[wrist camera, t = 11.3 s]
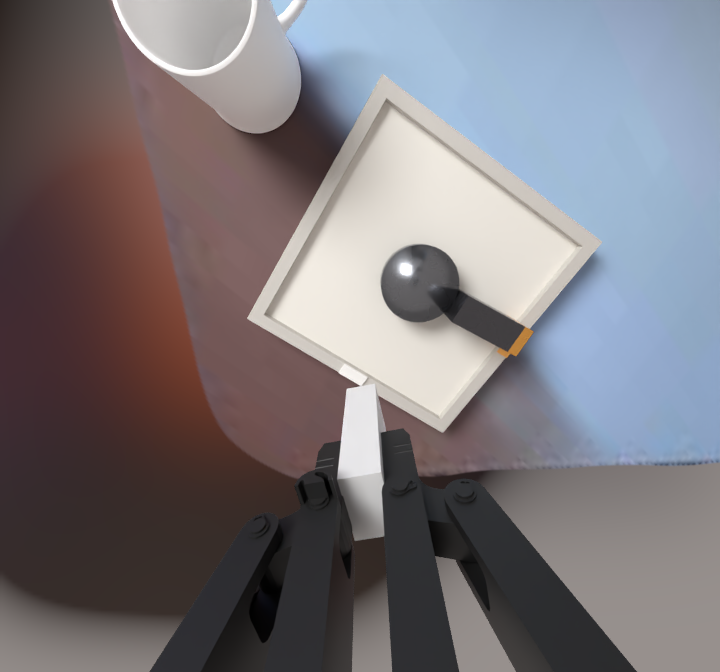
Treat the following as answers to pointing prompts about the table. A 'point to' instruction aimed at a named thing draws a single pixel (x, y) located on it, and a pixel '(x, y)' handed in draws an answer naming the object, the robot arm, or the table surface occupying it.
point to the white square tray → (416, 226)
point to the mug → (223, 54)
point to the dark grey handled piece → (443, 297)
